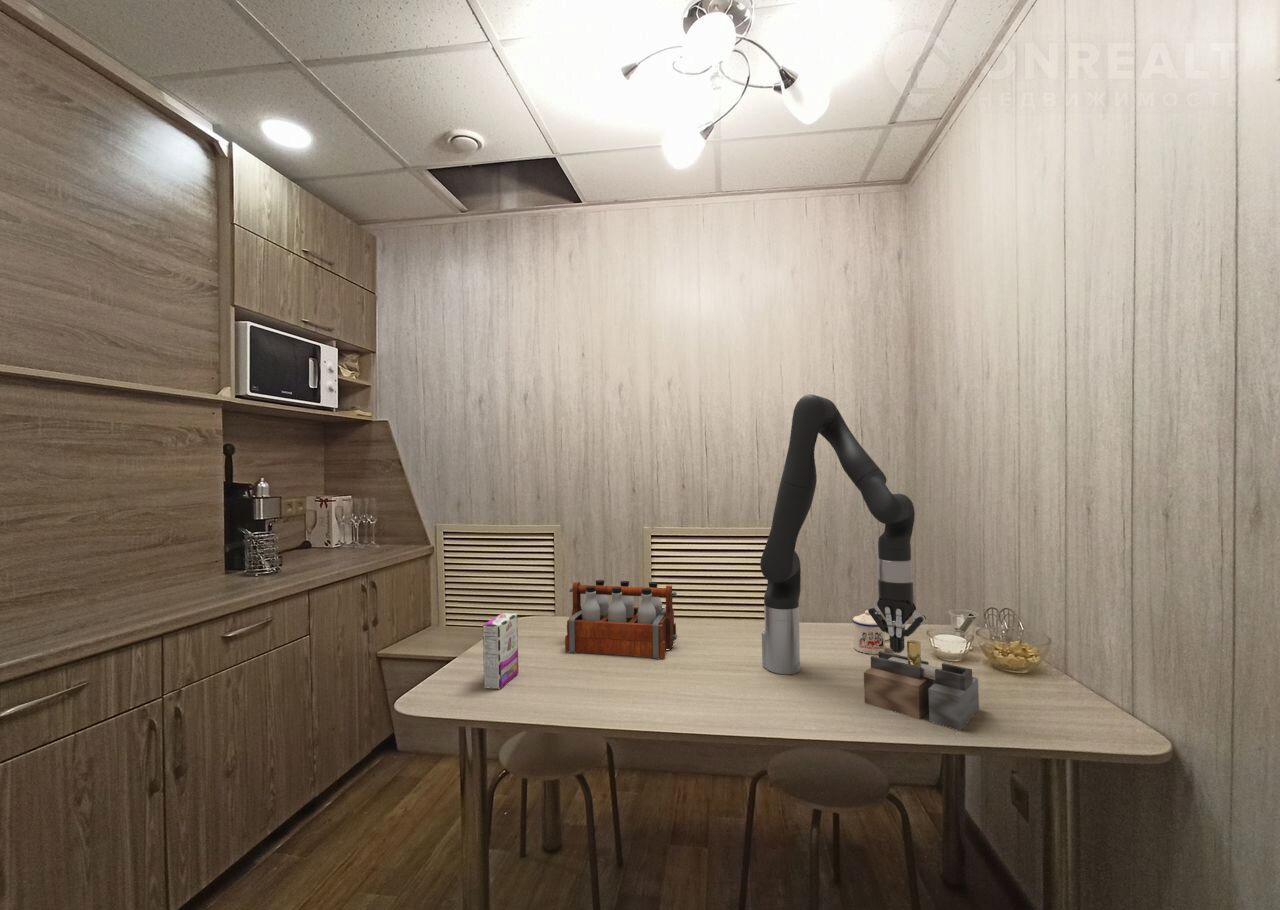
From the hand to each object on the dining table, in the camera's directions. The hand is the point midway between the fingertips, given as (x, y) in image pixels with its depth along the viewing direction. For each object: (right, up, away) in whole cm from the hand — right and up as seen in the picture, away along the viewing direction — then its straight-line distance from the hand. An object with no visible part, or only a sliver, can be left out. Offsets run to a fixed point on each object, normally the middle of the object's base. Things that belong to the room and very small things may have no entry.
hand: (897, 651), depth 128 cm
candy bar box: (-97, -13, +14) cm, 99 cm away
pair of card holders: (+4, -11, -5) cm, 13 cm away
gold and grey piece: (+2, -4, -2) cm, 5 cm away
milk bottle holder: (-66, -14, +42) cm, 80 cm away
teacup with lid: (+9, -12, +34) cm, 38 cm away
